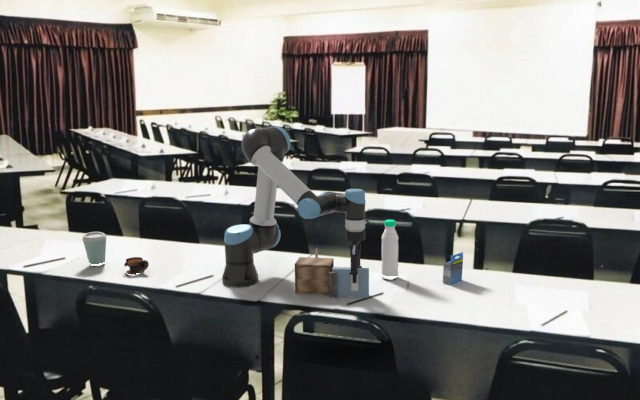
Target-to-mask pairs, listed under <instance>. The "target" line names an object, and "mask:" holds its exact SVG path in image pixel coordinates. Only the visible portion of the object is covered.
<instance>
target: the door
mask: <svg viewBox="0 0 640 400" xmlns="http://www.w3.org/2000/svg"><path fill="white" fill-rule="evenodd" d="M332 272H337V298H338V297H343V298H368V299H369V297H370V268H369V267H362V268H358V291H351V275H349V273H350V272H351V266H349V267H347V266H334V267H333V268H332Z"/></svg>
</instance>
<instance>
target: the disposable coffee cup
mask: <svg viewBox="0 0 640 400" xmlns="http://www.w3.org/2000/svg"><path fill="white" fill-rule="evenodd" d="M82 242H83V246H84V249H85V253H86V256H87V260H88V263H91V264H99V263H103V262H106V251H107V250H106V249H107V235H106V233H104V232H101V231H91V232H86V233H84V234H83V236H82Z"/></svg>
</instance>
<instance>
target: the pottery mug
mask: <svg viewBox="0 0 640 400" xmlns="http://www.w3.org/2000/svg"><path fill="white" fill-rule="evenodd" d="M123 265H124V266H123V267H124V268H125V267H128V268H129V269H128V270H126V274H127V273H128V274H136V273H140V274H141V273H144V272H145V271H146V270H147V269H148V268H149V265H150V263H149V261H148V260H144V259H143V257H139V256H134V257H132V256H131V257H129V258H126V259H125V262H124V264H123Z"/></svg>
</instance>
